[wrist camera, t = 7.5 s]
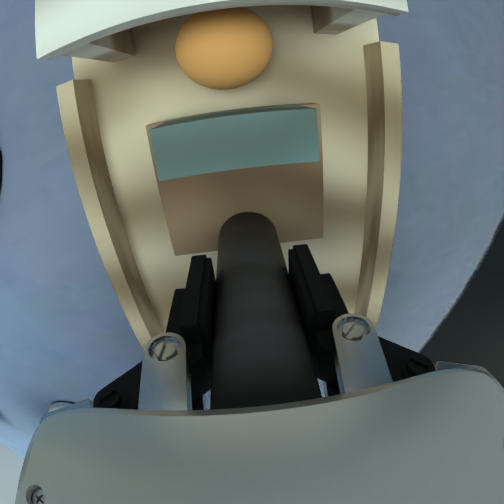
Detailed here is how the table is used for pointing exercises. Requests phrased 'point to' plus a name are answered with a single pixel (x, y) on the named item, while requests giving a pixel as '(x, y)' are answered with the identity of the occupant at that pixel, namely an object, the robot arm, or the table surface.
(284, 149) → the kicker
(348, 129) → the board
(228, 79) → the ball
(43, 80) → the table surface
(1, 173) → the shell
